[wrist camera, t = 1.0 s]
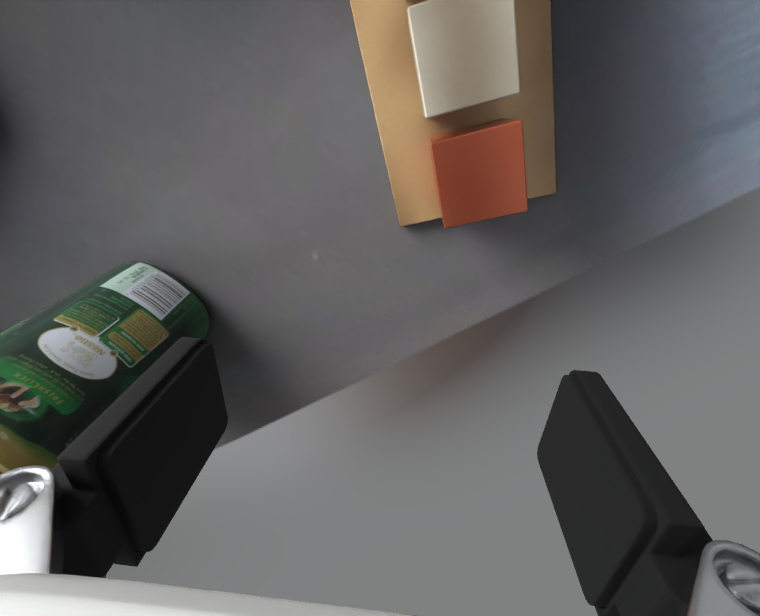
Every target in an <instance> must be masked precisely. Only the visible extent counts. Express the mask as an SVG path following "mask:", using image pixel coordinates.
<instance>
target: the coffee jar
mask: <svg viewBox="0 0 760 616" xmlns="http://www.w3.org/2000/svg"><path fill="white" fill-rule="evenodd" d="M209 326H210V319H209V316H208V313H207V311H206V308H205V306H204V305H203V304H202V302H201V301H200V300H199V299H198V297H197V296H196V295H195V294H194V293H193V292H192V291H191V290H190V289H189V288H188V287H187V286H186V285H184V284H183V283H182V282H181V281H179V280H178V279H176V278H175V277H174V276H172V275H171V274H169V273H167V272H165V271H163V270H161V269H159V268H157V267H155V266H153V265H150V264H147V263H142V262H128V263H124V264H122V265H120V266H118V267H116V268H114V269H112V270H110V271H109V272H107V273H105V274H103V275H101V276H100V277H98V278H96V279H94V280H93V281H91V282H89V283H88V284H86V285H84V286H82V287H81V288H79V289H77V290H76V291H74V292H72V293H70V294H69V295H67V296H65V297H64V298H62V299H60V300H58V301H57V302H55V303H53V304H51V305H50V306H48V307H46V308H44V309H43V310H41V311H39V312H37V313H36V314H34V315H32V316H30V317H29V318H27V319H25V320H23V321H22V322H20V323H18V324H16V325H14V326H13V327H11V328H9V329H7V330H6V331H4V332H2V333H0V474H3V473H5V472H7V471H10V470H13V469H17V468H20V467H24V466H34V465H38V466H43V467H47V468H48V469H49V470H51V469H52V468H53V467H54V466H55V465H56V464H57V463H58V460H57V457H58V456H59V455H60V454H61V453H62V452H63V451H64V450H65V449H66V448H67V447H68V446H69V445H70V444H71V443H72V442H73V441H74V440H75V439H76V438H77V437H78V436H79V435H80V434H81V433H82V432H83V431H84V430H85V429H86V428H87V427H89V426H90V425H91V424H92V423H93V422H94V421H95V420H96V419H97V418H98V417H99V416H100V415H101V414H102V413H103V412H104V411H105V410H106V409H107V408H108V407H109V406H110V405H111V404H112V403H113V402H114V401H115V400H116V399H117V398H118V397H119V396H121V395H122V394H123V393H124V392H125V391H126V390H127V389H128V388H129V387H130V386H131V385H132V384H133V383H134V382H135V381H136V380H137V379H138V378H139V377H140V376H141V375H142V374H143V373H144V372H145V371H146V370H147V369H148V368H149V367H150V366H151V365H153V364H154V363H155V362H156V361H157V360H158V359H159V358H160V357H161V356H162V355H163V354H164V353H165V352H166V351H167V350H168V349H169V348H170V347H171V346H172V345H173V344H174V343H175V342H176V341H177V340H178V339H180V338H181V337H191V338H202V339H205V337H206V336H207V333H208V331H209Z"/></svg>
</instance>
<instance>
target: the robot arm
mask: <svg viewBox="0 0 760 616" xmlns="http://www.w3.org/2000/svg"><path fill="white" fill-rule="evenodd" d="M227 422H228V416H227V411H226V406H225V401H224V397H223V392H222V387H221V382H220V378H219V373H218V368H217V363H216V359H215V354H214V349H213V347H212V345H210V344H208V343H207V341H206V340H205V339H202V338H191V337H181V338H180V339H178V340H177V341H176V342H175V343H174V344H173V345H172V346H171V347H170V348H169V349H168V350H167V351H166V352H165V353H164V354H163V355H162V356H161V357H160V358H159V359H158V360H157V361H156V362H155V363H154V364H153V365H151V366H150V367H149V368H148V369H147V370H146V371H145V372H144V373H143V374H142V375H141V376H140V377H139V378H138V379H137V380H136V381H135V382H134V383H133V384H132V385H131V386H130V387H129V388H128V389H127V390H126V391H125V392H124V393H123V394H122V395H121V396H119V397H118V398H117V399H116V400H115V401H114V402H113V403H112V404H111V405H110V406H109V407H108V408H107V409H106V410H105V411H104V412H103V413H102V414H101V415H100V416H99V417H98V418H97V419H96V420H95V421H94V422H93V423H92V424H91V425H90V426H89V427H87V428H86V429H85V430H84V431H83V432H82V433H81V434H80V435H79V436H78V437H77V438H76V439H75V440H74V441H73V442H72V443H71V444H70V445H69V446H68V447H67V448H66V449H65V450H64V451H63V452H62V453H61V454H60V455H59V456H58V457H57V460H58V463H57V464H56V465H55V466H54V467H53V468H52V469H51V470H49V469H48V468H47V467H43V466H38V465H34V466H24V467H20V468H17V469H13V470H10V471H7V472H5V473H3V474H0V616H414V615H406V614H398V613H390V612H382V611H374V610H367V609H359V608H351V607H343V606H335V605H327V604H319V603H311V602H302V601H294V600H287V599H279V598H271V597H263V596H255V595H247V594H238V593H230V592H222V591H213V590H205V589H197V588H189V587H180V586H172V585H163V584H155V583H147V582H136V581H127V580H116V579H107V578H106V574H107V572H108V571H109V569H110V568H111V566H112V565H113V563H114V564H120V565H128V566H138V564H139V562H140V561H141V560H142V558H143V556H144V555H145V553H146V552H149V551H151V550H152V549H153V548H154V547H155V546H156V545H157V543H158V542H159V540H160V538H161V537H162V535H163V533H164V531H165V530H166V528H167V527H168V525H169V523H170V521H171V520H172V518H173V517H174V515H175V513H176V511H177V510H178V508H179V506H180V505H181V503H182V501H183V500H184V498H185V496H186V495H187V493H188V491H189V490H190V488H191V486H192V485H193V483H194V481H195V480H196V478H197V476H198V475H199V473H200V471H201V469H202V468H203V466H204V465H205V463H206V461H207V459H208V458H209V456H210V455H211V453H212V451H213V450H214V448H215V446H216V445H217V443H218V441H219V440H220V438H221V436H222V434H223V433H224V431H225V429H226V426H227ZM537 455H538V461H539V465H540V468H541V471H542V473H543V476H544V479H545V482H546V485H547V488H548V491H549V494H550V497H551V499H552V503H553V505H554V509H555V512H556V514H557V517H558V520H559V523H560V526H561V529H562V532H563V535H564V538H565V541H566V543H567V547H568V550H569V552H570V555H571V558H572V561H573V564H574V567H575V570H576V573H577V576H578V579H579V582H580V585H581V588H582V591H583V593H584V596H585V599H586V600H587V602H588V603H589V604H590V605H592V606H595V608H596V611H597V614H598V616H760V553H758V552H756V551H754V550H752V549H750V548H748V547H746V546H744V545H741V544H738V543H735V542H731V541H727V540H715V541H713V540H712V539H711V537H710V536H709V534H708V533H707V531H706V530H705V528H704V526H703V524H702V523H701V521H700V520H699V519H698V518H697V516H696V514H695V513H694V511H693V510H692V508H691V507H690V505H689V504H688V502H687V501H686V499H685V498H684V497H683V495H682V494H681V492H680V491H679V489H678V488H677V486H676V485H675V483H674V482H673V480H672V479H671V478H670V476H669V475H668V473H667V472H666V470H665V469H664V467H663V466H662V464H661V463H660V462H659V460H658V459H657V457H656V456H655V454H654V453H653V451H652V450H651V448H650V447H649V445H648V444H647V443H646V441H645V440H644V438H643V437H642V435H641V434H640V432H639V431H638V429H637V428H636V427H635V425H634V423H633V422H632V421H631V419H630V418H629V416H628V415H627V413H626V412H625V410H624V409H623V407H622V406H621V404H620V403H619V402H618V400H617V399H616V397H615V396H614V394H613V393H612V391H611V390H610V389H609V387H608V385H607V384H606V383H605V381H604V380H603V378H602V377H601V375H600V374H599V373H597V372H589V371H577V370H574V371H571V372H570V374H569V375H564V376H563V378H562V380H561V383H560V385H559V388H558V391H557V394H556V397H555V400H554V402H553V405H552V409H551V412H550V414H549V417H548V420H547V423H546V426H545V428H544V432H543V434H542V437H541V440H540V443H539V446H538V452H537Z"/></svg>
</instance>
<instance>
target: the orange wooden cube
mask: <svg viewBox="0 0 760 616" xmlns="http://www.w3.org/2000/svg"><path fill="white" fill-rule="evenodd" d="M428 143H429V149H430V155H431V161H432V166H433V172H434V178H435V184H436V190H437V196H438V201H439V207H440V212H441V216H442V220H443V225H444V228H450V227H455V226H460V225H465V224H469V223H474V222H479V221H483V220H488V219H493V218H498V217H502V216H507V215H512V214H516V213H521V212H526V211H528V198H527V183H526V167H525V152H524V137H523V122H522V120H515V119H506V118H501V119H497V120H493V121H489V122H485V123H482V124H478V125H474V126H470V127H466V128H462V129H459V130H455V131H451V132H447V133H443V134H439V135H435V136H432V137H429V138H428Z"/></svg>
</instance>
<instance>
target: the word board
mask: <svg viewBox="0 0 760 616" xmlns="http://www.w3.org/2000/svg"><path fill="white" fill-rule="evenodd" d="M350 4H351V9H352V13H353V18H354V22H355V26H356V31H357V35H358V40H359V44H360V49H361V53H362V58H363V62H364V67H365V71H366V76H367V80H368V85H369V89H370V94H371V98H372V103H373V107H374V112H375V116H376V120H377V125H378V129H379V134H380V138H381V143H382V147H383V152H384V156H385V161H386V165H387V170H388V174H389V179H390V183H391V188H392V192H393V197H394V201H395V205H396V210H397V214H398V219H399V223H400V227H402V226H407V225H411V224H416V223H420V222H425V221H430V220H434V219H439V218H442V216H441V212H440V207H439V201H438V196H437V190H436V184H435V178H434V172H433V166H432V161H431V155H430V149H429V143H428V138H429V137H432V136H435V135H439V134H443V133H447V132H451V131H455V130H459V129H462V128H466V127H470V126H474V125H478V124H482V123H485V122H489V121H493V120H497V119H501V118H506V119H515V120H522V122H523V137H524V152H525V167H526V183H527V198H528V199H531V198H535V197H540V196H544V195H549V194H554V193H556V163H555V130H554V97H553V65H552V32H551V0H350Z"/></svg>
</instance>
